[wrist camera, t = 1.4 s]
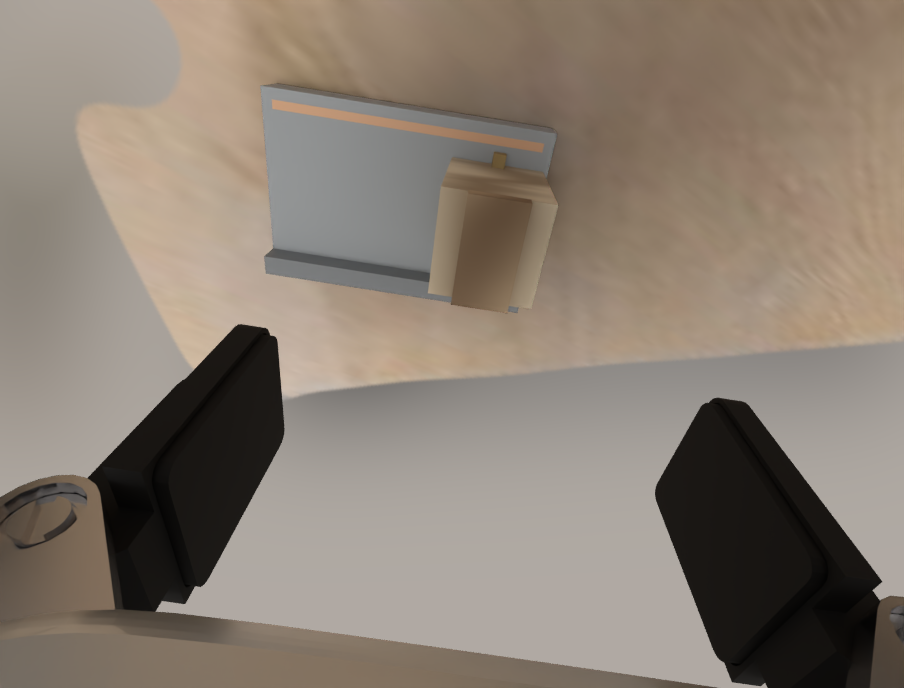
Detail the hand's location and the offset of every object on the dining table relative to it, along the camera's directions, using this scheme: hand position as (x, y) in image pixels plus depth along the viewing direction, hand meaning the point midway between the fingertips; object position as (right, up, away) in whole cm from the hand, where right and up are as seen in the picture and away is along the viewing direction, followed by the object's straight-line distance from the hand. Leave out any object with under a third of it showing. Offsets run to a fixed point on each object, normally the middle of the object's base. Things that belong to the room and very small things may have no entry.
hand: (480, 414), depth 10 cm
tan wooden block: (+1, +9, +13) cm, 16 cm away
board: (-3, +10, +15) cm, 18 cm away
